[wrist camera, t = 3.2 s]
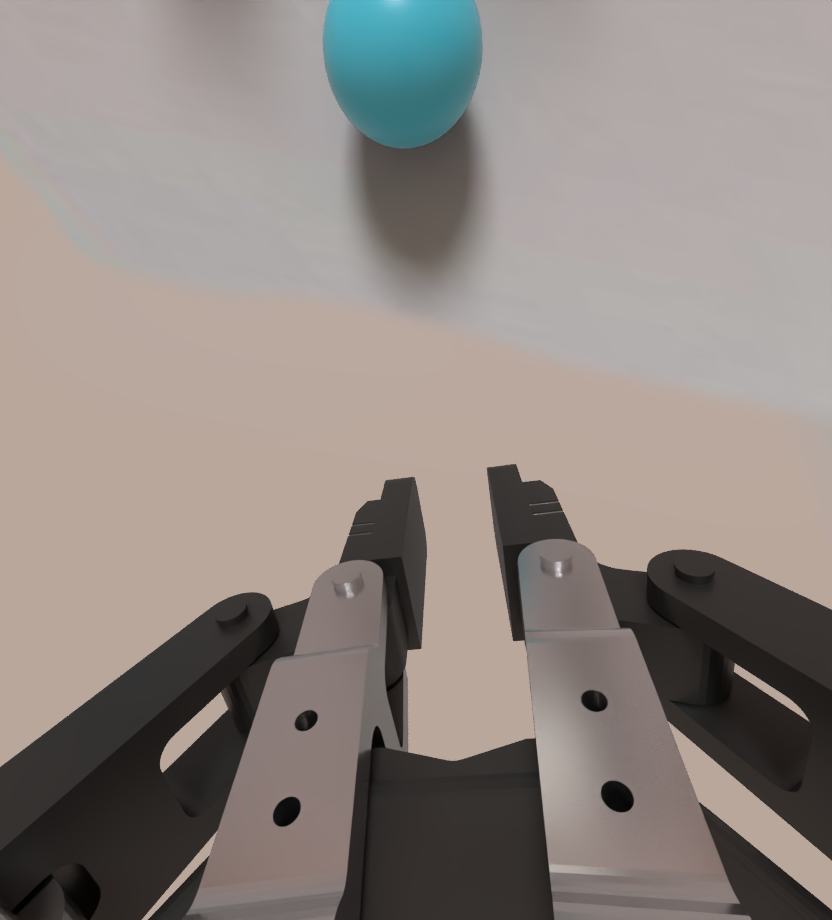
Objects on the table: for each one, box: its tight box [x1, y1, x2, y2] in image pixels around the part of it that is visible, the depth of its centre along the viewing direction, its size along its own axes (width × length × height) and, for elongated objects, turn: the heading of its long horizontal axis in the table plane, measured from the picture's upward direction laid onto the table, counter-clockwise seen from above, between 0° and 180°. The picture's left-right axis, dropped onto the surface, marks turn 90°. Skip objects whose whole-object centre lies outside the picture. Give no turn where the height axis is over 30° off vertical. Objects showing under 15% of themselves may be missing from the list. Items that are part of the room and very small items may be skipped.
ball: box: [323, 0, 482, 149], centre depth 18 cm, size 6×6×6 cm
